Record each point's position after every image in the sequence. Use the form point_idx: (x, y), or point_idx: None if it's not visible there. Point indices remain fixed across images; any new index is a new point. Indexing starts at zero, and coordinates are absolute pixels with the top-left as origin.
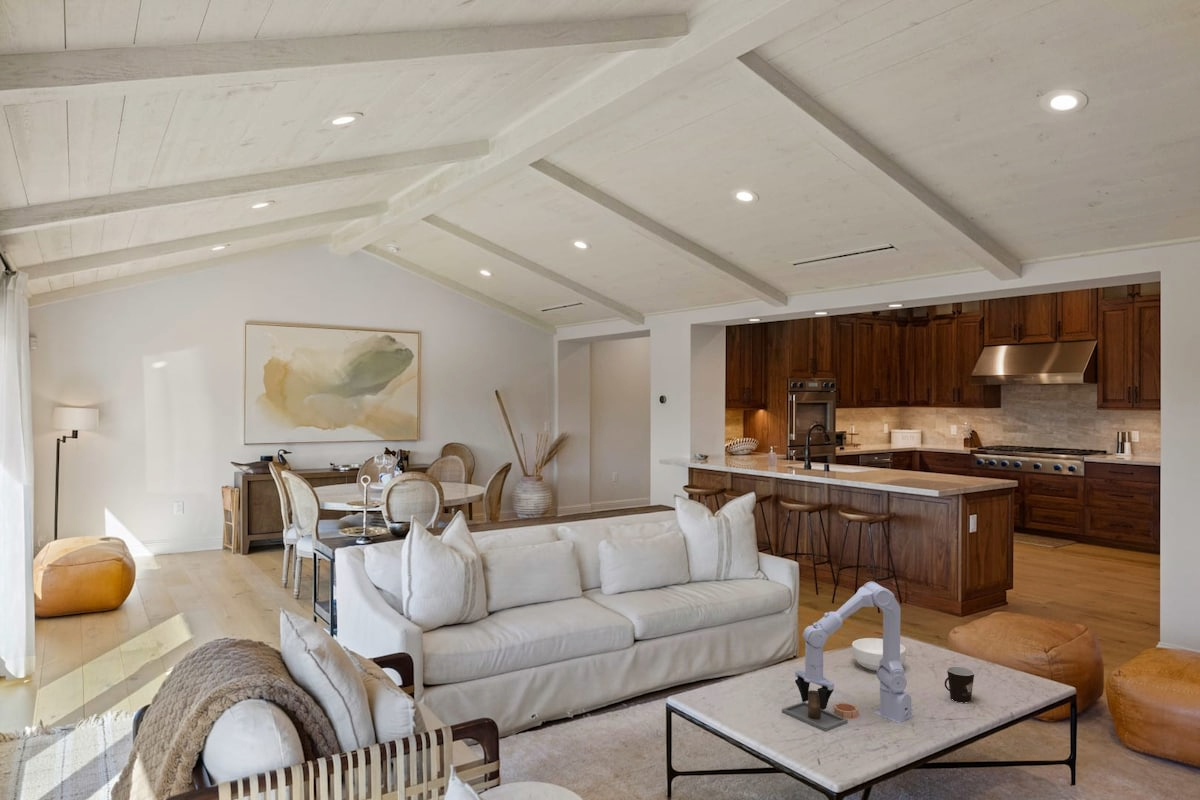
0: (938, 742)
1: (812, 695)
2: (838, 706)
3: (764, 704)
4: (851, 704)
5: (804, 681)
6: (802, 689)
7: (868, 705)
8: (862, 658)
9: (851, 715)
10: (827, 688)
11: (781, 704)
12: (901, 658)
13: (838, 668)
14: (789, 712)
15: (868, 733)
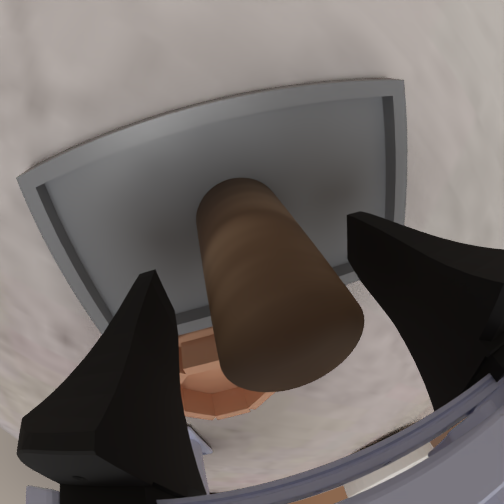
0: (8, 429)
1: (253, 303)
2: None
3: (478, 94)
4: (239, 413)
5: (471, 357)
6: (425, 269)
7: (254, 428)
8: None
9: None
10: (62, 500)
11: (448, 163)
12: (345, 490)
13: (429, 404)
14: (346, 82)
15: (27, 350)
